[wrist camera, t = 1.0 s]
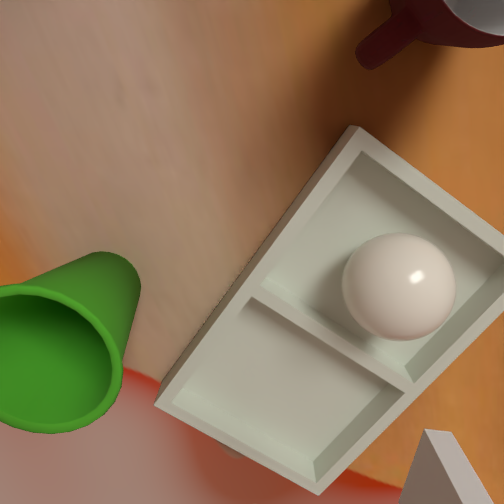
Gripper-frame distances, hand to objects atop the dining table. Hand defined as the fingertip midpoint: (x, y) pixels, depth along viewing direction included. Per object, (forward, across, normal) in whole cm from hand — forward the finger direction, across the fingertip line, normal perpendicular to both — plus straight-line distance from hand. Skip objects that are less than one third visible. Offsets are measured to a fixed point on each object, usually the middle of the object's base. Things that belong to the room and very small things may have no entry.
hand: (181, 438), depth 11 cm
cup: (+20, -9, -5) cm, 23 cm away
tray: (+20, +9, -6) cm, 23 cm away
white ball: (+19, +11, -1) cm, 22 cm away
